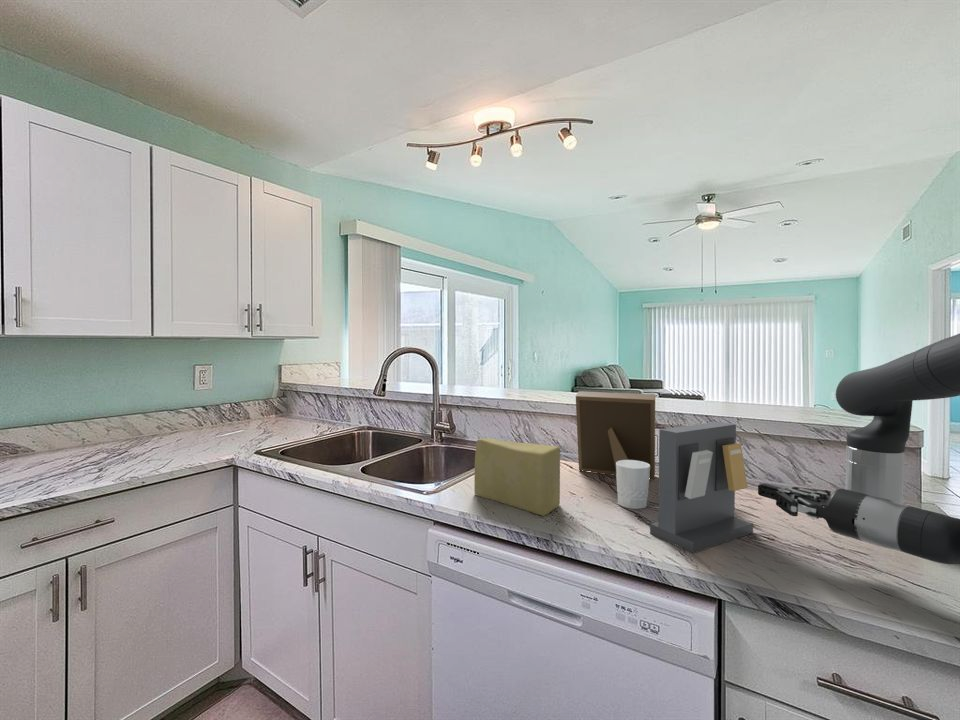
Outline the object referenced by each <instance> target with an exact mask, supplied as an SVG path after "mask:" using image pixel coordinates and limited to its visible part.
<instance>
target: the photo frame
mask: <svg viewBox="0 0 960 720" xmlns="http://www.w3.org/2000/svg"><path fill="white" fill-rule="evenodd" d="M575 407H576V408H575V410H576V411H575V412H576V414H575V415H576V433H577V436H576V437H577V455H578V457H577V459H578V471H579V470H583V471H591V472H597V473H596V474H599V473H605V474H604V475H608V474H614V475H613V476H616V462H617V461H620V460H637V461H642V462H646V463H648V464H649V465H650V475H649V478H650V479H649V480H652V479H654V480H655V477H656V394H653V393H651V394H650V393H629V392H626V393H624V392H608V391H606V392H605V391H603V392H602V391H601V392H600V391H586V390H585V391H583V390H581V391H580V390H578V392H577V393H576V395H575ZM591 472H590V473H591Z"/></svg>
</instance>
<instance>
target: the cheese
mask: <svg viewBox="0 0 960 720" xmlns="http://www.w3.org/2000/svg"><path fill="white" fill-rule="evenodd" d="M473 490H474V495H476V496H477V495H478V496H477V497H480V496H481V498H484V499H488V500H490V499H491V500H490V501H495V502H498V503H501V504H504V505H508V506H510V507H515V508H518V509H521V510H523V511H527V512H530V513H533V514H536V515H538V516H541V517H544V516H546V515H549V514H550V513H551V512H553V511H554V510H555V509H557V508H559V506H560V504H561V501H560V499H561V448H560V447H559V446H556V445H547V444H539V443H529V442H517V441H516V442H515V441H507V440H502V439H501V440H499V439H492V438H487V437H486V438H485V437H483V438H478V439H477V440H476V443H475V454H474V489H473Z"/></svg>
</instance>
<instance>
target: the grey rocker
mask: <svg viewBox="0 0 960 720" xmlns="http://www.w3.org/2000/svg"><path fill="white" fill-rule="evenodd" d="M712 454H713V452H711V451H709V450H704V451H699V452H693V453H692V458H691V464H690V469H689V475H688V480H687V486H686V492H685V497H687V498H689V499H692V498H696V497H700V496H704V495H705V491H706V486H707V481H708V476H709V470H710V465H711V460H712Z"/></svg>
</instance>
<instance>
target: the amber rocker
mask: <svg viewBox="0 0 960 720" xmlns="http://www.w3.org/2000/svg"><path fill="white" fill-rule="evenodd" d="M722 447H723V454H724V461H725V468H726V474H727V481H728V488H729V490H730V491H735V492H736V491H740V490H744V489H747V488H748V482H747V481H748V480H747V475H746V468H745V462H744V456H743V448H742V443H737V442H736V443H734V444H728V445H723V446H722Z"/></svg>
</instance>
